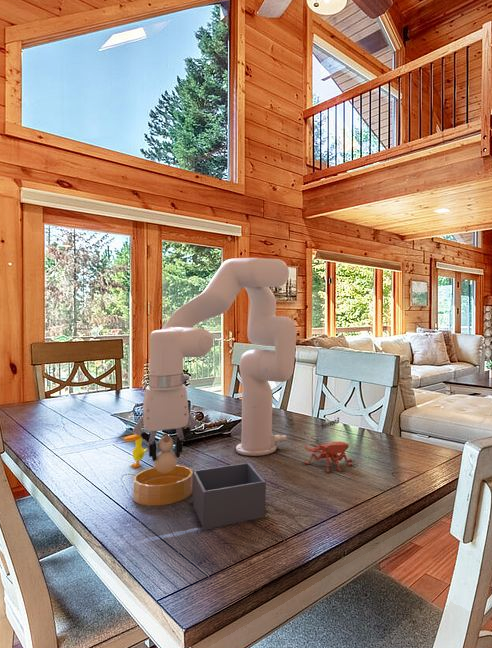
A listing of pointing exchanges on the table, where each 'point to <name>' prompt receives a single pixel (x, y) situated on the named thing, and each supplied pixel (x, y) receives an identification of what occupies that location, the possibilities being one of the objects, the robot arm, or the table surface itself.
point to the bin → (228, 495)
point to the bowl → (162, 486)
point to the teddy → (165, 455)
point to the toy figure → (136, 448)
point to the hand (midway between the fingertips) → (165, 456)
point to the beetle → (330, 450)
